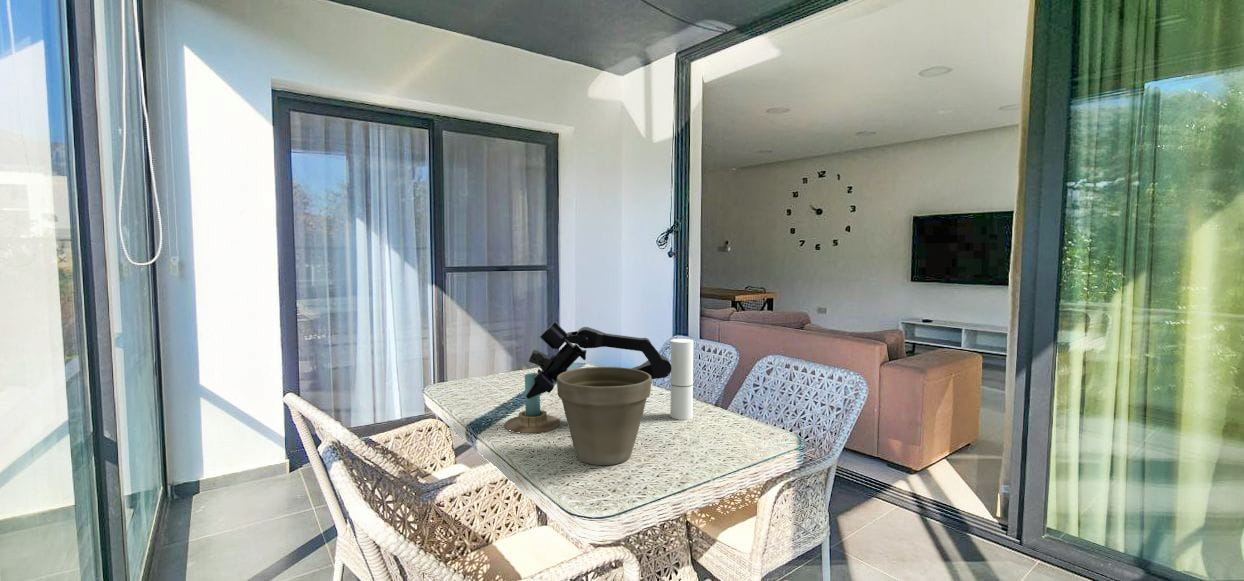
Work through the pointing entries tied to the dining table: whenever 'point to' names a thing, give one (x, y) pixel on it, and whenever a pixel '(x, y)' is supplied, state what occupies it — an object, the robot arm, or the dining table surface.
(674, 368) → the cylindrical container
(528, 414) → the teal peg
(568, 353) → the robot arm
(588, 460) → the plant pot
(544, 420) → the walnut stand
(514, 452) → the dining table surface
